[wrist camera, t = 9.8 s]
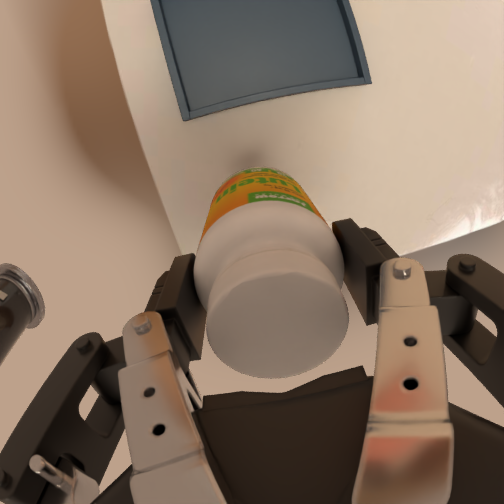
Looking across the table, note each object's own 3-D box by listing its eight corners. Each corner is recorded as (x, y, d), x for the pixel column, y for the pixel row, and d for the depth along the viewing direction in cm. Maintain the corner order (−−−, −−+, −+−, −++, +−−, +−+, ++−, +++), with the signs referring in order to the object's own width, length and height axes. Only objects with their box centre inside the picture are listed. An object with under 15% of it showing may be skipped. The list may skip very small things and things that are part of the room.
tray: (186, 120, 29) (183, 121, 27) (153, -2, 22) (148, -8, 20) (364, 84, 27) (372, 83, 25) (328, -34, 20) (333, -40, 18)
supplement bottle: (297, 155, 15) (371, 220, 6) (314, 244, 18) (371, 370, 9) (198, 179, 16) (147, 272, 7) (225, 265, 18) (215, 402, 9)
